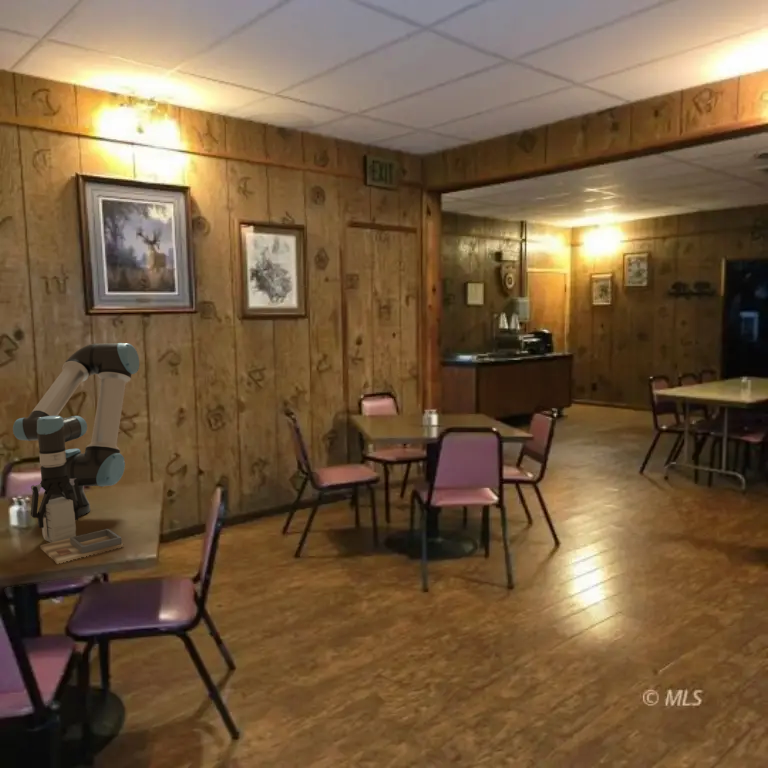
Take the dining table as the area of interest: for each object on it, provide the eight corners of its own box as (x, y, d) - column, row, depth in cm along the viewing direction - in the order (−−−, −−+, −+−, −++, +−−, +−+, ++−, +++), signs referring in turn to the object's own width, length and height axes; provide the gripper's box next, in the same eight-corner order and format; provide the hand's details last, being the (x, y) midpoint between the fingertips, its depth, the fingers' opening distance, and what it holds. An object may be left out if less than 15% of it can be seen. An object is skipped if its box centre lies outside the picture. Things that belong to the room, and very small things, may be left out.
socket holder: (70, 543, 202) (69, 537, 202) (108, 534, 210) (108, 528, 209) (82, 553, 193) (81, 547, 193) (121, 543, 201) (121, 537, 201)
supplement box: (66, 533, 215) (63, 496, 214) (76, 537, 210) (73, 499, 209) (42, 539, 209) (39, 501, 208) (53, 544, 205) (49, 505, 203)
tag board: (40, 548, 202) (40, 544, 201) (103, 533, 214) (103, 529, 214) (57, 564, 188) (57, 559, 188) (123, 547, 201) (123, 543, 201)
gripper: (20, 472, 197) (27, 544, 200) (91, 460, 211) (96, 528, 214) (14, 468, 203) (21, 538, 206) (83, 457, 217) (89, 523, 219)
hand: (59, 533), depth 210 cm, fingers closed on supplement box, 8 cm apart
